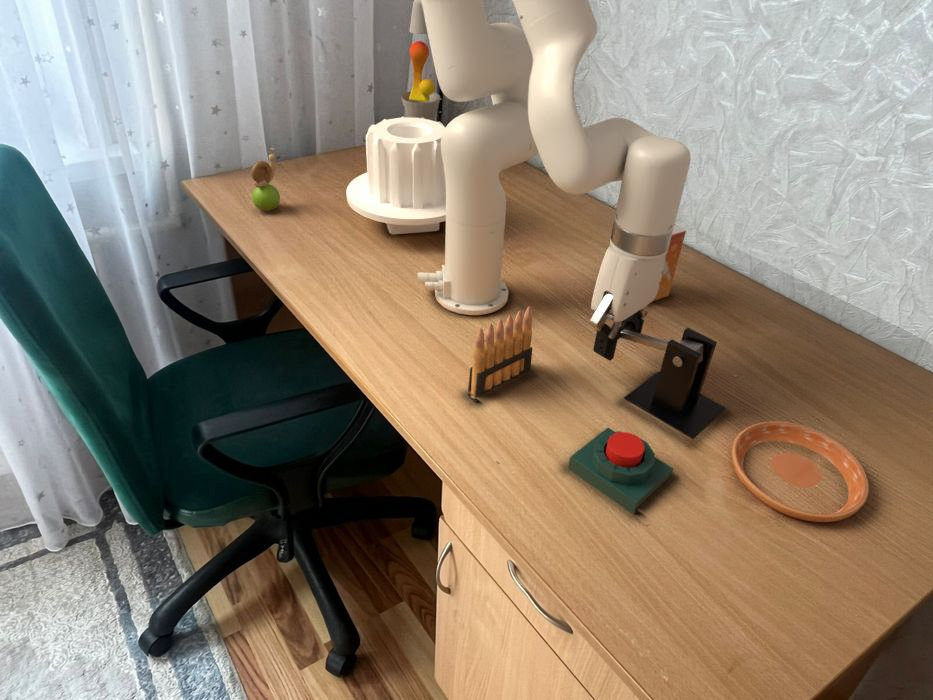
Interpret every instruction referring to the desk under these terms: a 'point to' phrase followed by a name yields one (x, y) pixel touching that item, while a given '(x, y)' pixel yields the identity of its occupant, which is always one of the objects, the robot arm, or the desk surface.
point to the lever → (653, 339)
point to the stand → (680, 387)
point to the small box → (671, 262)
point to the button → (624, 449)
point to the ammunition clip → (501, 354)
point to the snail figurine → (265, 184)
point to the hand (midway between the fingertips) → (616, 345)
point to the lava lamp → (420, 73)
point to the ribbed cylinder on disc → (402, 176)
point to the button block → (619, 472)
